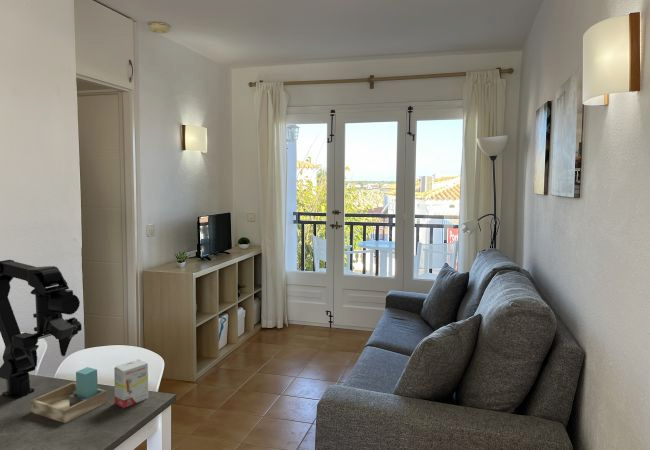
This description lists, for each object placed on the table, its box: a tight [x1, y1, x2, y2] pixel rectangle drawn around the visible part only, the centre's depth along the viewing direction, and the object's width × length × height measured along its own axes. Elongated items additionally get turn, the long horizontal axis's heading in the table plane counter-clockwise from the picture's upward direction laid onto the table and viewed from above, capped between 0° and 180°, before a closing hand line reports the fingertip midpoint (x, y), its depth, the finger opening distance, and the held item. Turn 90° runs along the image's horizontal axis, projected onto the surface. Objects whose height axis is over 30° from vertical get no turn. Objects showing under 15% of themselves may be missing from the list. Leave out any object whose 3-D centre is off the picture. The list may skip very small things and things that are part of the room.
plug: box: [75, 366, 99, 399], centre depth 146 cm, size 4×4×10 cm
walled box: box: [30, 381, 108, 424], centre depth 145 cm, size 14×14×4 cm
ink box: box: [113, 359, 149, 409], centre depth 149 cm, size 9×5×12 cm, turn 143°
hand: (49, 361), depth 147 cm, fingers open, 9 cm apart
